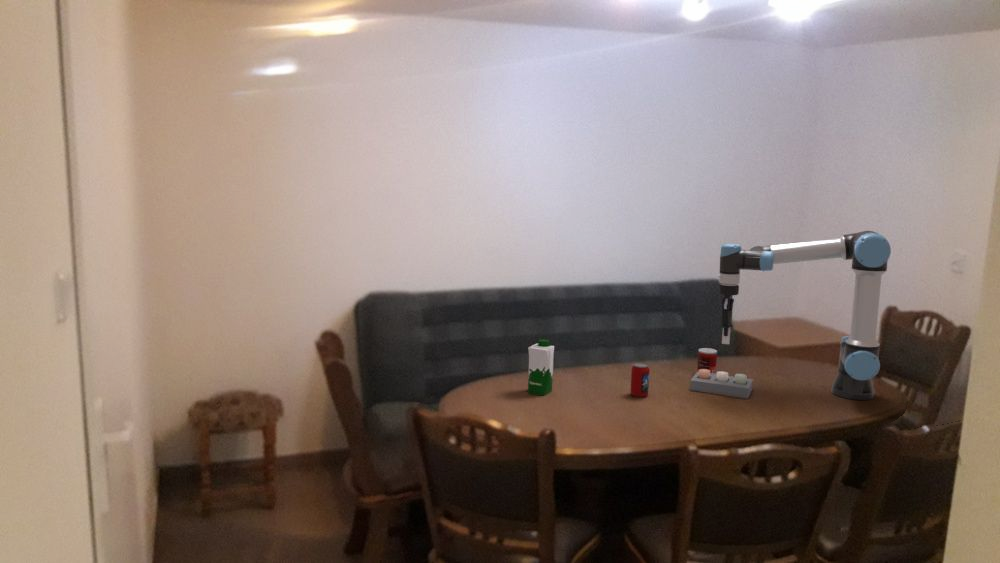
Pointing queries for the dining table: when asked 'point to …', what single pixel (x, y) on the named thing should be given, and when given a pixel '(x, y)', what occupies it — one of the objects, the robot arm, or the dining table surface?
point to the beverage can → (640, 380)
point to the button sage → (740, 379)
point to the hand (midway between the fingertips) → (725, 343)
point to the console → (721, 386)
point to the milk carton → (540, 368)
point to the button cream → (722, 376)
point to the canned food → (707, 359)
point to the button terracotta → (704, 374)
